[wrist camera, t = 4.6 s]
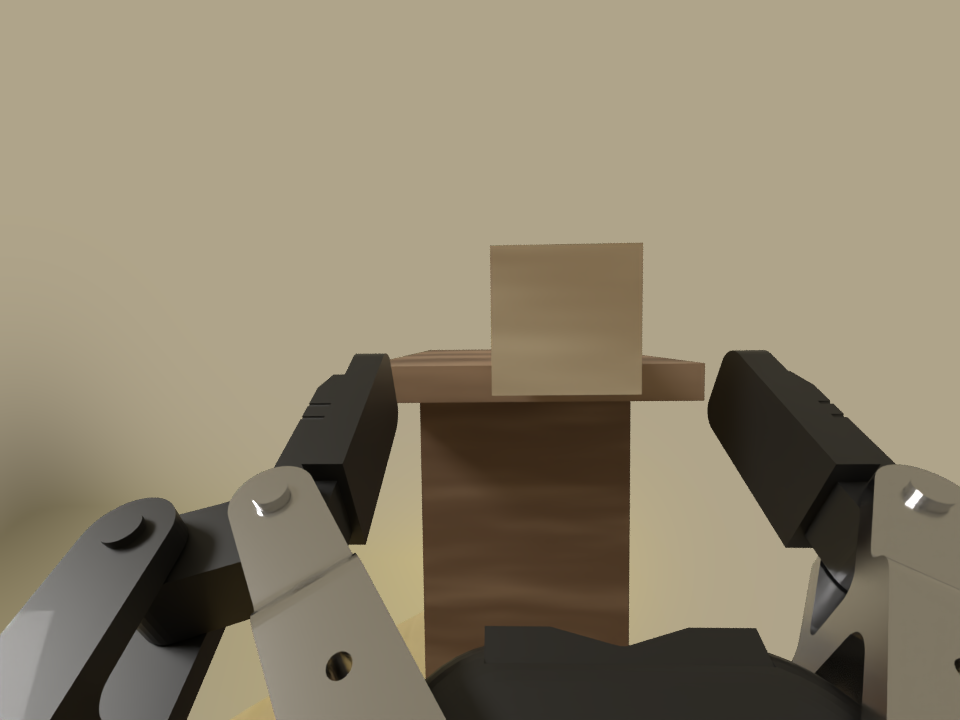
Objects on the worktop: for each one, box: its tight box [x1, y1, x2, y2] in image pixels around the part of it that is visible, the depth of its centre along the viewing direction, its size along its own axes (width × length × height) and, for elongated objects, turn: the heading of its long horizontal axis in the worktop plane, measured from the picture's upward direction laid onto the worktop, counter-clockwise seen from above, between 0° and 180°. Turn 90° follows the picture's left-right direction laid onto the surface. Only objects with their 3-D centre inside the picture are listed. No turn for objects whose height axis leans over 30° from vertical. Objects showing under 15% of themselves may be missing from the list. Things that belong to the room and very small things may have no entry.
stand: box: [390, 350, 705, 678], centre depth 28 cm, size 20×14×32 cm
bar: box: [490, 243, 643, 396], centre depth 29 cm, size 40×3×3 cm, turn 178°
